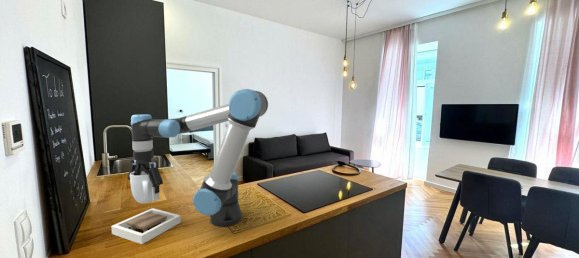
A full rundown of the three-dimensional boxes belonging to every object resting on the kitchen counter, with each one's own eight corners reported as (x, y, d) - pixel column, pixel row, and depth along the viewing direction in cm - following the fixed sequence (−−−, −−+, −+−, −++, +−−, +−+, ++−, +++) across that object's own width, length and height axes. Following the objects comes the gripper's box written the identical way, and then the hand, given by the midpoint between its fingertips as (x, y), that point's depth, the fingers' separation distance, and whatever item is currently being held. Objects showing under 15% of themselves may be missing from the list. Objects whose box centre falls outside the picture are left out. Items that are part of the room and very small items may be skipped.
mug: (162, 205, 100) (160, 175, 99) (131, 211, 94) (129, 179, 93) (159, 193, 113) (157, 167, 111) (131, 198, 107) (129, 170, 105)
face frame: (180, 222, 111) (180, 215, 110) (141, 244, 93) (141, 236, 93) (152, 214, 118) (152, 208, 118) (111, 233, 101) (111, 226, 100)
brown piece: (167, 224, 109) (166, 216, 108) (144, 236, 98) (144, 227, 98) (150, 219, 113) (150, 212, 112) (127, 231, 103) (126, 222, 102)
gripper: (170, 150, 101) (172, 199, 103) (133, 146, 110) (136, 190, 112) (154, 154, 94) (157, 205, 96) (116, 149, 103) (119, 196, 105)
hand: (145, 197), depth 104 cm, fingers closed on mug, 12 cm apart
